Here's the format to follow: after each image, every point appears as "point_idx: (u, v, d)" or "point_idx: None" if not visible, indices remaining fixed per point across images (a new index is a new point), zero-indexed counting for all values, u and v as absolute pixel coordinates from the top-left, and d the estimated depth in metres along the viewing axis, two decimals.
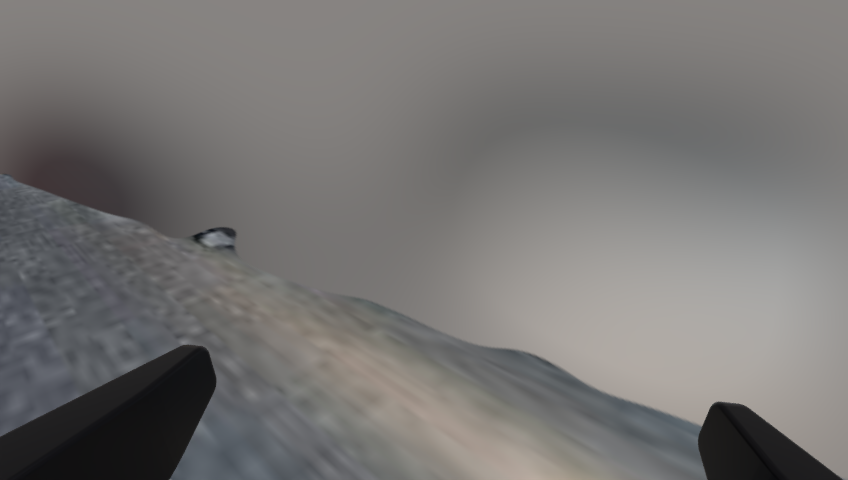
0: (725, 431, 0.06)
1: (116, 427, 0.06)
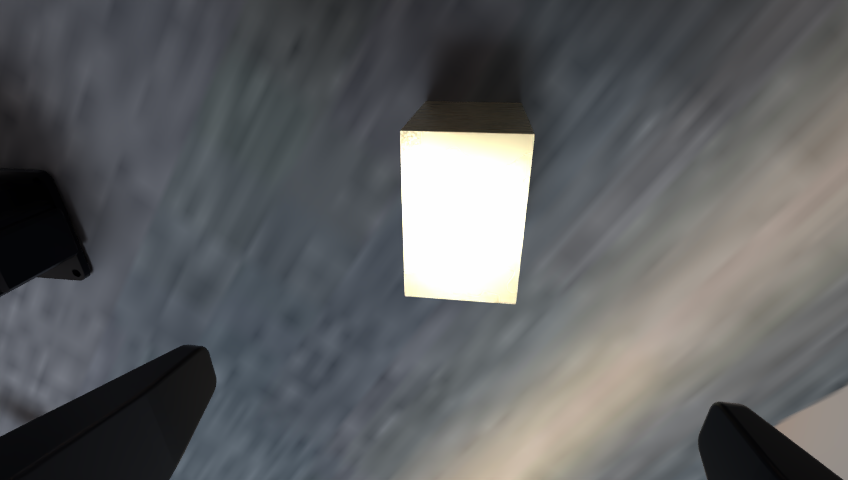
0: (724, 431, 0.06)
1: (116, 427, 0.06)
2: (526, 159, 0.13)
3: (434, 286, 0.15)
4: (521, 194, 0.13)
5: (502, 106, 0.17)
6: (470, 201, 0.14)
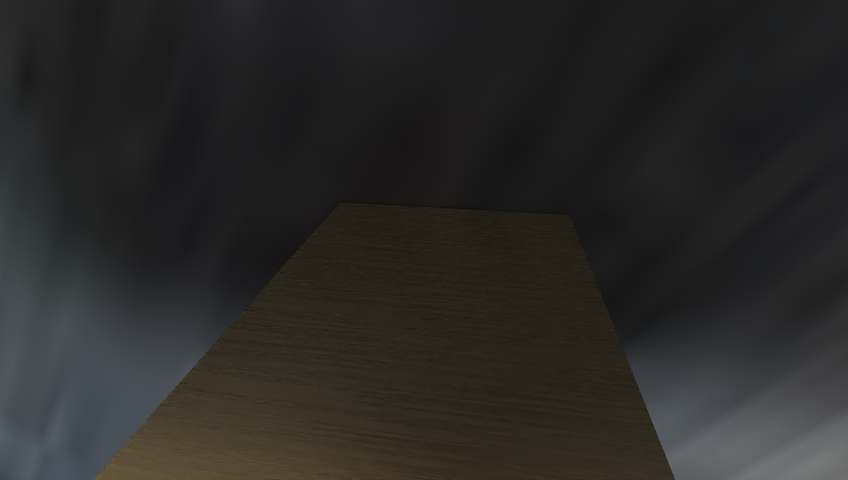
0: None
1: None
2: None
3: None
4: None
5: (525, 240, 0.06)
6: None
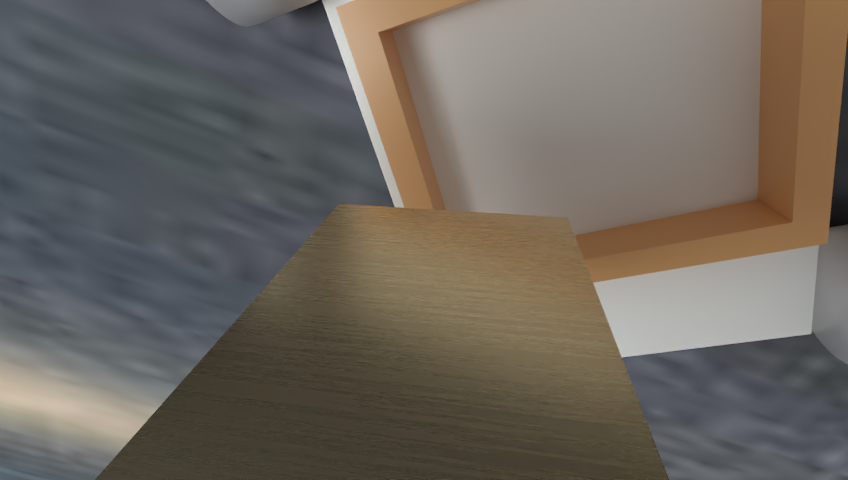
0: None
1: None
2: None
3: None
4: None
5: (523, 242, 0.06)
6: None
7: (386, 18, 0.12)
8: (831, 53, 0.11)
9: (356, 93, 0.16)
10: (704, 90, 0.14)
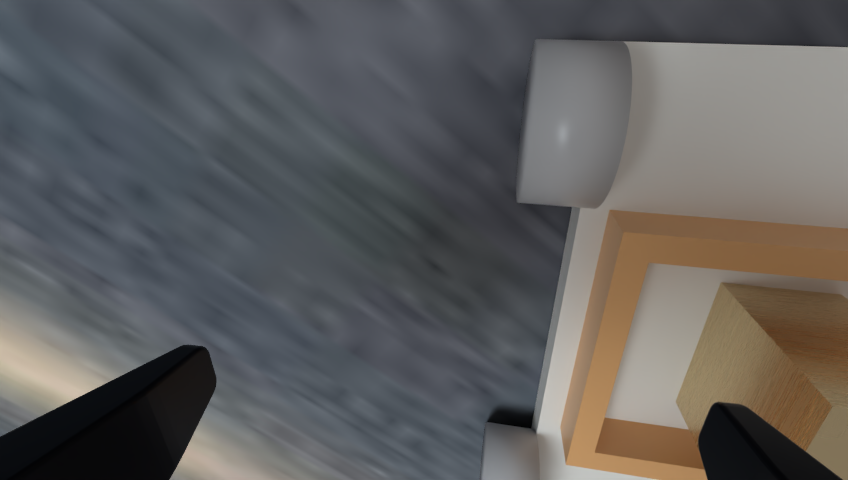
0: (725, 431, 0.06)
1: (116, 427, 0.06)
2: None
3: None
4: None
5: (837, 308, 0.14)
6: None
7: (662, 256, 0.14)
8: None
9: (570, 268, 0.17)
10: None
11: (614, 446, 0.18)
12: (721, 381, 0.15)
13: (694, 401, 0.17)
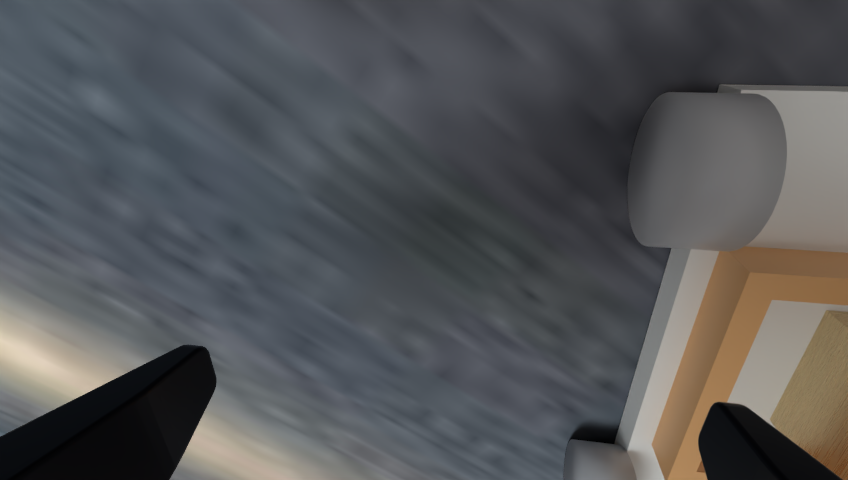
0: (725, 431, 0.06)
1: (116, 427, 0.06)
2: None
3: None
4: None
5: None
6: None
7: (786, 293, 0.14)
8: None
9: (677, 299, 0.17)
10: None
11: None
12: (832, 406, 0.16)
13: (796, 422, 0.18)
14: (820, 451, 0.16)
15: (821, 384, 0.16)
